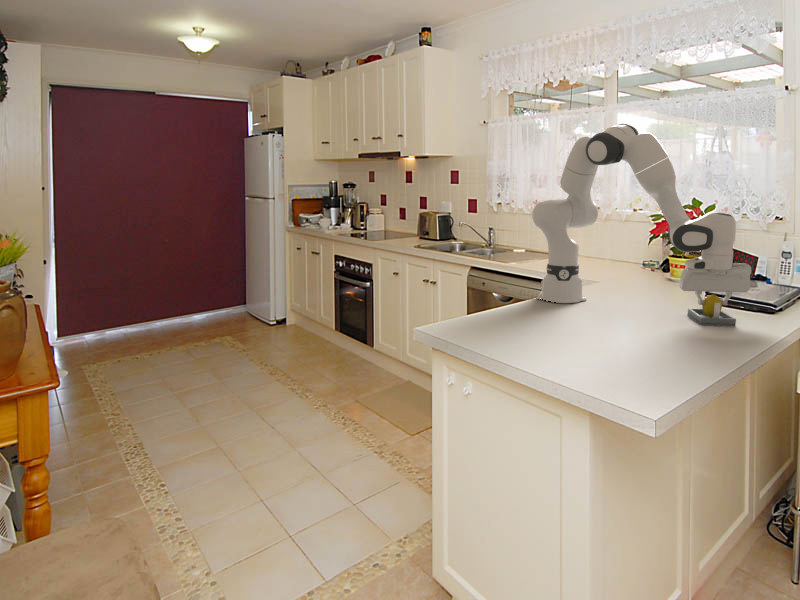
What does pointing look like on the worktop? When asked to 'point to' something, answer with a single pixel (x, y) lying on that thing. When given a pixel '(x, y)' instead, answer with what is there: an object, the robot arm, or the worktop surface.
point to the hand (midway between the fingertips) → (712, 304)
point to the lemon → (711, 305)
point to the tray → (716, 320)
